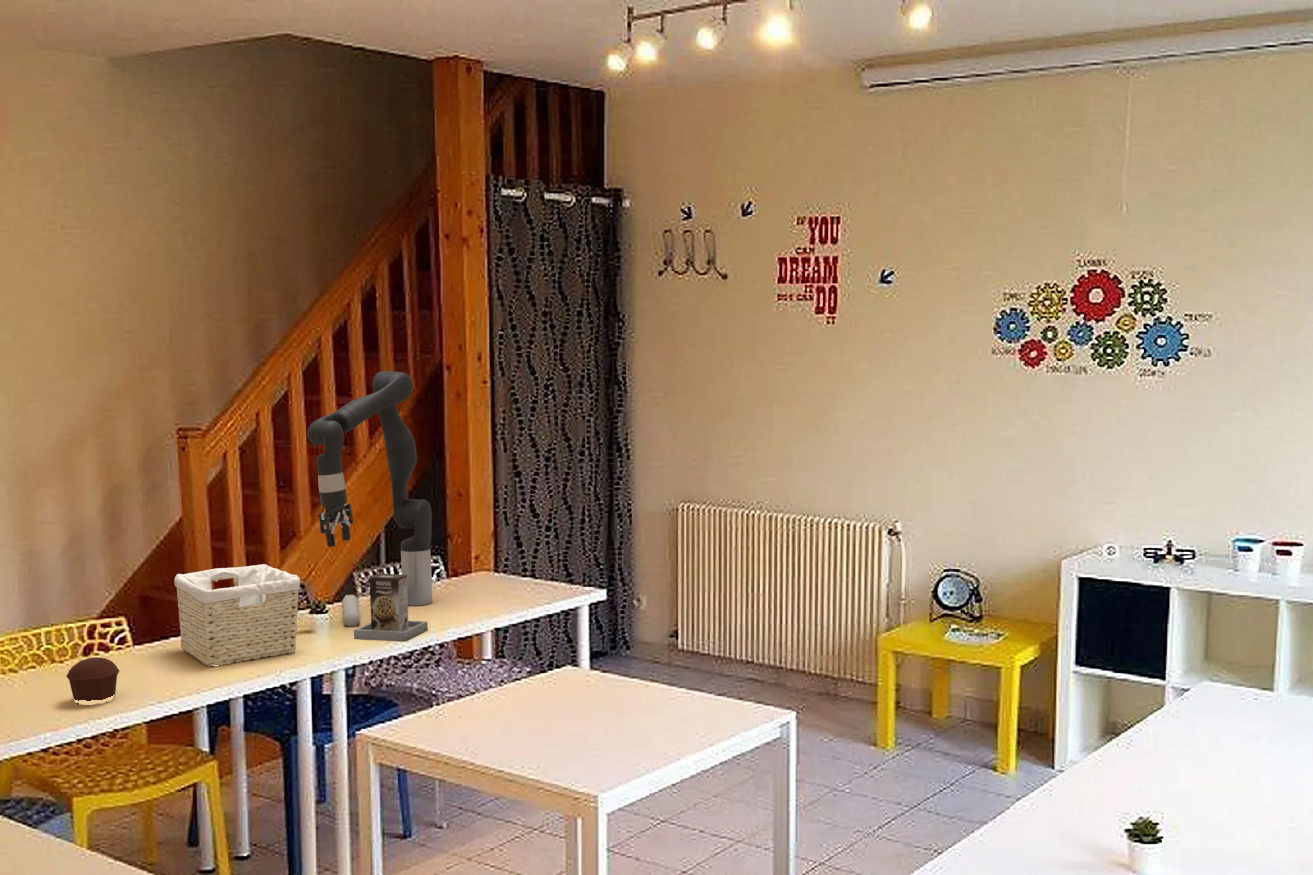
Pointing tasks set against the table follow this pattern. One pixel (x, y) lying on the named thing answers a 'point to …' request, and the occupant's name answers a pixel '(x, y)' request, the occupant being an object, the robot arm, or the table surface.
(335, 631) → the table surface
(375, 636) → the dish
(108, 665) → the muffin
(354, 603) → the tube
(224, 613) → the basket
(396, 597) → the coffee box
